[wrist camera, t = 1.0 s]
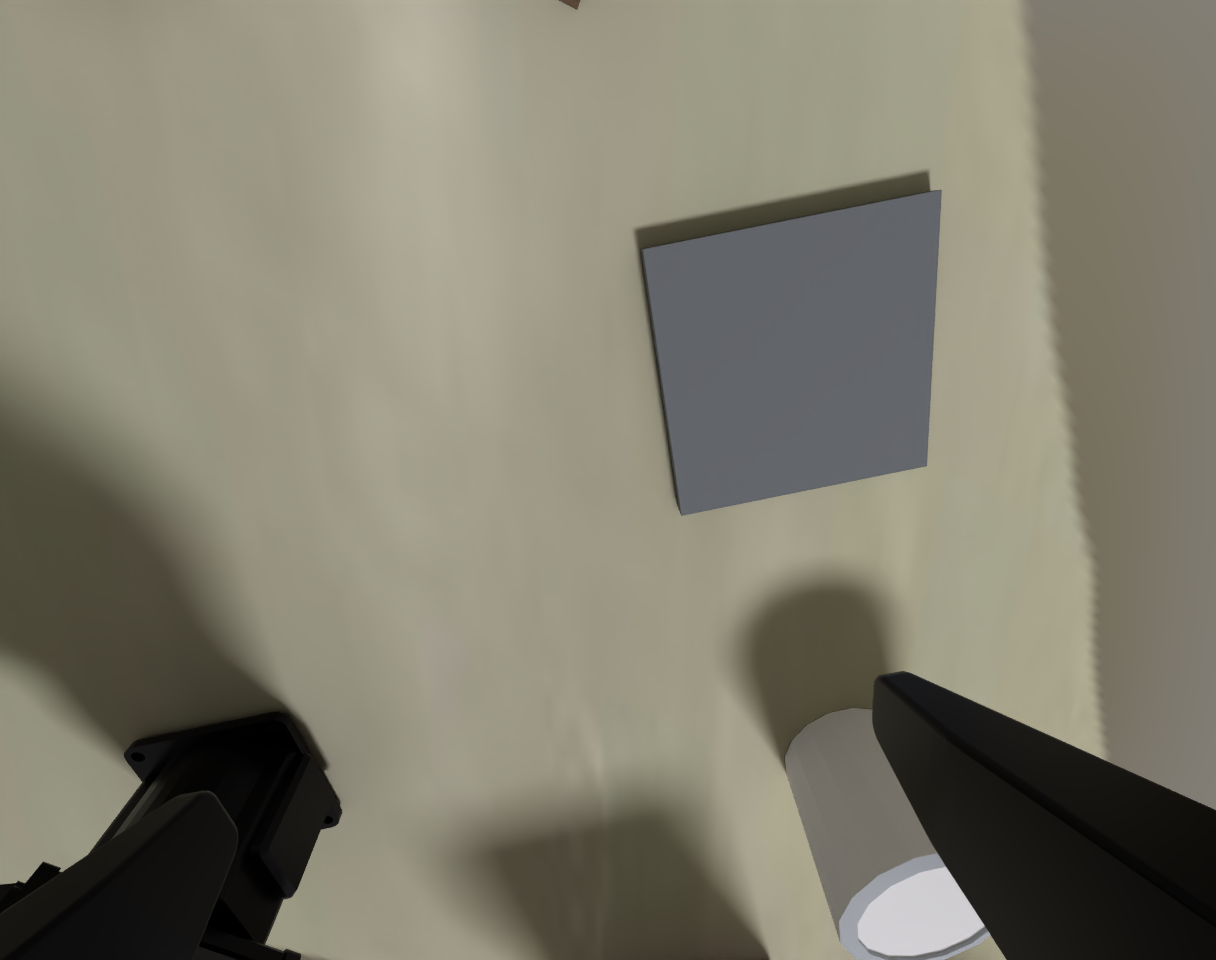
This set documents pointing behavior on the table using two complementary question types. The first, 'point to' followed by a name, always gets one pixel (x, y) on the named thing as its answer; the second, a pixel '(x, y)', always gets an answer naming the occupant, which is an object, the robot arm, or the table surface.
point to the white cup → (874, 848)
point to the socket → (571, 3)
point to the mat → (796, 350)
